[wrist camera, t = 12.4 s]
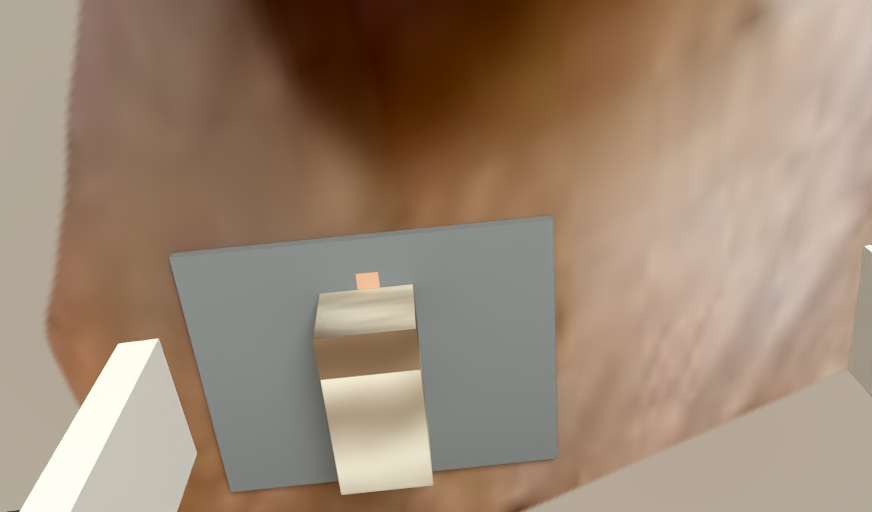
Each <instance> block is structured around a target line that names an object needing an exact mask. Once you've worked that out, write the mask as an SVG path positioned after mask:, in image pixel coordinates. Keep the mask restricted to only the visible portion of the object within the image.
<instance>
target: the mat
mask: <svg viewBox="0 0 872 512" xmlns="http://www.w3.org/2000/svg"><path fill="white" fill-rule="evenodd" d="M169 259H170V263H171V267H172V271H173V274H174V278H175V282H176V286H177V290H178V293H179V297H180V301H181V305H182V309H183V312H184V316H185V320H186V324H187V328H188V331H189V335H190V339H191V343H192V347H193V350H194V354H195V358H196V362H197V366H198V369H199V373H200V377H201V381H202V385H203V389H204V392H205V396H206V400H207V404H208V408H209V411H210V415H211V419H212V423H213V427H214V430H215V434H216V438H217V442H218V446H219V449H220V453H221V457H222V461H223V465H224V468H225V472H226V476H227V480H228V484H229V487H230V491H231V492H240V491H250V490H259V489H269V488H278V487H288V486H298V485H307V484H317V483H326V482H336V481H339V480H338V474H337V469H336V463H335V458H334V452H333V447H332V441H331V436H330V430H329V425H328V419H327V414H326V408H325V403H324V397H323V392H322V386H321V381H320V378H319V373H318V367H317V362H316V356H315V351H314V345H313V340H312V339H313V333H314V326H315V319H316V313H317V306H318V299H319V294H320V293H330V292H339V291H349V290H359V289H369V288H379V287H389V286H398V285H408V284H413V287H414V296H415V305H416V314H417V323H418V335H419V344H420V353H421V362H422V371H423V380H424V389H425V398H426V407H427V416H428V426H429V436H430V449H431V461H432V471H441V470H451V469H460V468H470V467H480V466H489V465H499V464H508V463H518V462H527V461H537V460H547V459H556V458H558V452H557V396H556V340H555V285H554V229H553V218H552V216H551V215H549V216H539V217H529V218H519V219H509V220H499V221H489V222H479V223H469V224H459V225H449V226H439V227H429V228H419V229H409V230H399V231H389V232H379V233H369V234H359V235H349V236H339V237H329V238H319V239H309V240H299V241H289V242H279V243H269V244H259V245H249V246H239V247H229V248H219V249H209V250H199V251H189V252H179V253H172V254H171V256H170V258H169Z"/></svg>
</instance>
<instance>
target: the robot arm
mask: <svg viewBox="0 0 872 512" xmlns="http://www.w3.org/2000/svg"><path fill="white" fill-rule="evenodd" d="M848 370H849V371H850V373H851V374H852V375H853V376H854V377H855V378H856V379H857V380H858V381H859V383H860V384H861V385H862V386H863V387H864V388H865V389H866V391H867V392H868V393H869V394H870V395H871V396H872V245H868V246H864V251H863V258H862V266H861V274H860V282H859V289H858V297H857V305H856V313H855V321H854V328H853V336H852V344H851V352H850V359H849V367H848ZM196 455H197V452H196V449H195V446H194V443H193V440H192V437H191V434H190V431H189V428H188V425H187V422H186V419H185V416H184V413H183V410H182V407H181V404H180V401H179V398H178V395H177V392H176V389H175V386H174V383H173V380H172V377H171V374H170V371H169V368H168V365H167V362H166V359H165V356H164V353H163V350H162V347H161V344H160V341H159V339H151V340H143V341H136V342H128V343H121V344H118V345H117V347H116V348H115V350H114V352H113V354H112V355H111V357H110V359H109V360H108V362H107V364H106V365H105V367H104V369H103V371H102V372H101V374H100V376H99V377H98V379H97V381H96V382H95V384H94V386H93V388H92V389H91V391H90V393H89V394H88V396H87V398H86V400H85V401H84V403H83V405H82V406H81V408H80V410H79V411H78V413H77V415H76V417H75V418H74V420H73V422H72V423H71V425H70V427H69V429H68V430H67V432H66V434H65V435H64V437H63V439H62V441H61V442H60V444H59V445H58V447H57V449H56V451H55V452H54V454H53V456H52V457H51V459H50V461H49V463H48V464H47V466H46V468H45V469H44V471H43V473H42V474H41V476H40V478H39V479H38V481H37V483H36V485H35V486H34V488H33V490H32V491H31V493H30V495H29V497H28V498H27V500H26V502H25V503H24V505H23V507H22V508H21V510H17V511H9V512H177V510H178V508H179V505H180V502H181V499H182V496H183V493H184V490H185V487H186V484H187V481H188V478H189V476H190V473H191V470H192V467H193V464H194V461H195V458H196Z"/></svg>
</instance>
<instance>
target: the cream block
mask: <svg viewBox="0 0 872 512" xmlns="http://www.w3.org/2000/svg"><path fill="white" fill-rule="evenodd" d="M312 340H313V345H314V351H315V356H316V362H317V367H318V373H319V378H320V381H321V386H322V392H323V397H324V403H325V408H326V414H327V419H328V425H329V430H330V436H331V441H332V447H333V452H334V458H335V463H336V469H337V474H338V480H339V485H340V490H341V495H346V494H355V493H365V492H374V491H384V490H393V489H403V488H412V487H422V486H431V485H433V474H432V461H431V449H430V436H429V426H428V416H427V407H426V398H425V389H424V380H423V371H422V362H421V353H420V344H419V335H418V323H417V314H416V305H415V296H414V287H413V284H408V285H398V286H389V287H379V288H369V289H359V290H349V291H339V292H330V293H320V294H319V299H318V306H317V313H316V319H315V326H314V333H313V339H312Z"/></svg>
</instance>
